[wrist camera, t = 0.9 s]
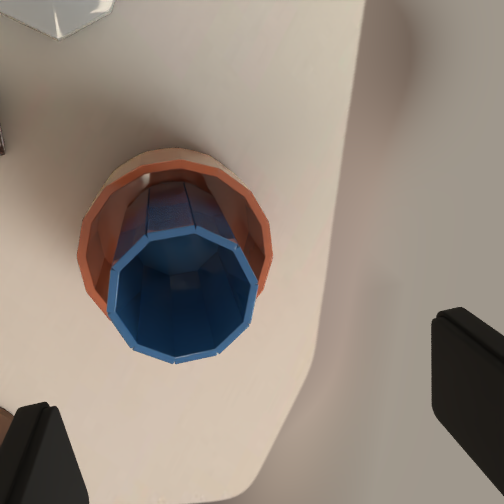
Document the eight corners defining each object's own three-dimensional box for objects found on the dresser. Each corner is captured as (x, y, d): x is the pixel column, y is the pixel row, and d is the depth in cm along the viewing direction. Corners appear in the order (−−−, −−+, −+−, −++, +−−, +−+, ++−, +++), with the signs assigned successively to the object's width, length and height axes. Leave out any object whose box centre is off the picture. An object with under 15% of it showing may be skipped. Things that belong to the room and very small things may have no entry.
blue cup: (111, 190, 30) (87, 243, 20) (219, 173, 31) (249, 215, 20) (134, 284, 32) (123, 375, 22) (233, 266, 33) (266, 345, 23)
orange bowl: (73, 161, 29) (54, 178, 24) (242, 136, 31) (260, 146, 25) (113, 312, 33) (104, 357, 28) (260, 283, 35) (280, 321, 29)
